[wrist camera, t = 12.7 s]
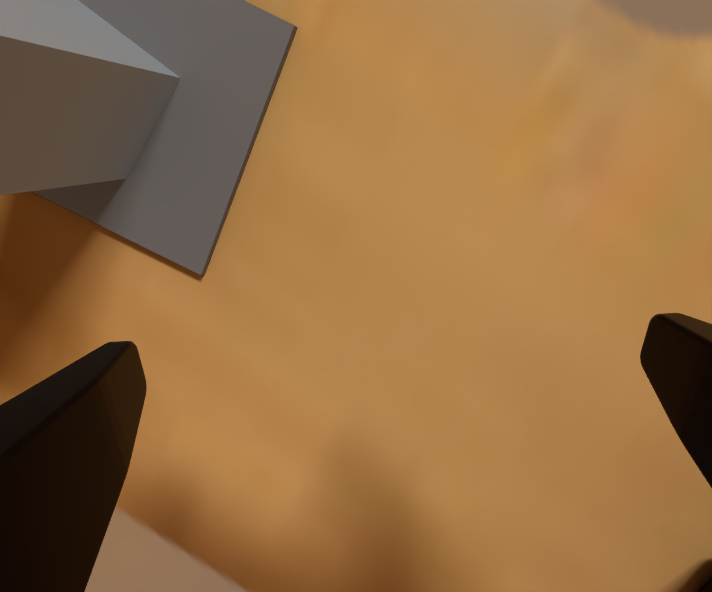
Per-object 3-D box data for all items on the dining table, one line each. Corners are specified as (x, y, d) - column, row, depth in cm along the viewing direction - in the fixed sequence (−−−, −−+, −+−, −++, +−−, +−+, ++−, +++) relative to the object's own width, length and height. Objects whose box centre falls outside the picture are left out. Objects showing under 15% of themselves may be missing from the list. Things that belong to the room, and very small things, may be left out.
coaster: (297, 27, 18) (294, 25, 18) (205, 273, 21) (201, 275, 21) (-8, -123, 18) (-18, -129, 18) (-55, 145, 22) (-63, 145, 21)
